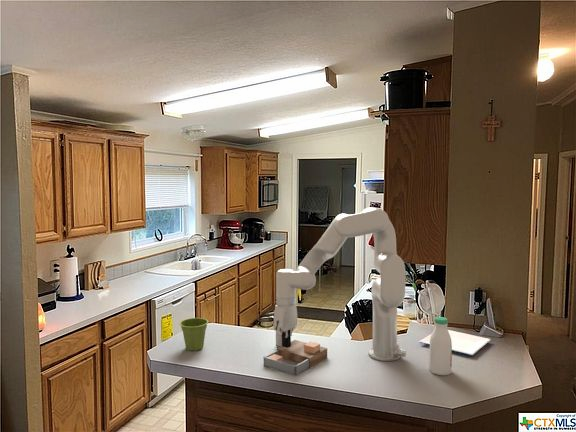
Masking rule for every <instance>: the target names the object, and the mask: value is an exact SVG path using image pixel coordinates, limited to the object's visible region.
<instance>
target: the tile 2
mask: <svg viewBox="0 0 576 432" xmlns="http://www.w3.org/2000/svg"><path fill="white" fill-rule="evenodd" d="M306 343H307V344H305V345H304V351H306V352H309V353H313V354H314V353H316V352H318V351H319V350H320V347H321V343H319V342H314V341H309V342H306Z"/></svg>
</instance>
